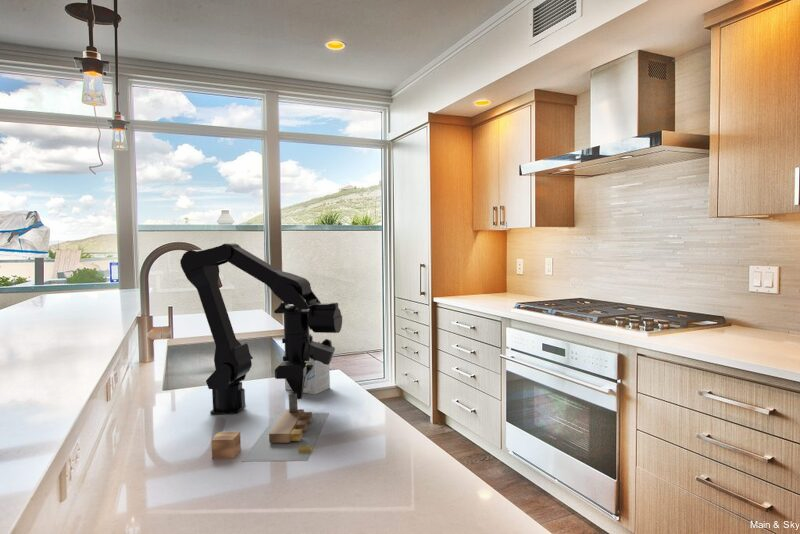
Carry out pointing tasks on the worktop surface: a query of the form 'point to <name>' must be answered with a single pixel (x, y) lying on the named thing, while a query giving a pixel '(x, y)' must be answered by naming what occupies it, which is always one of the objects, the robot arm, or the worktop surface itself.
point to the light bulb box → (315, 378)
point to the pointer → (305, 449)
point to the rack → (290, 423)
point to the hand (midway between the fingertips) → (299, 398)
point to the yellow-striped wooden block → (226, 445)
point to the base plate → (286, 450)
